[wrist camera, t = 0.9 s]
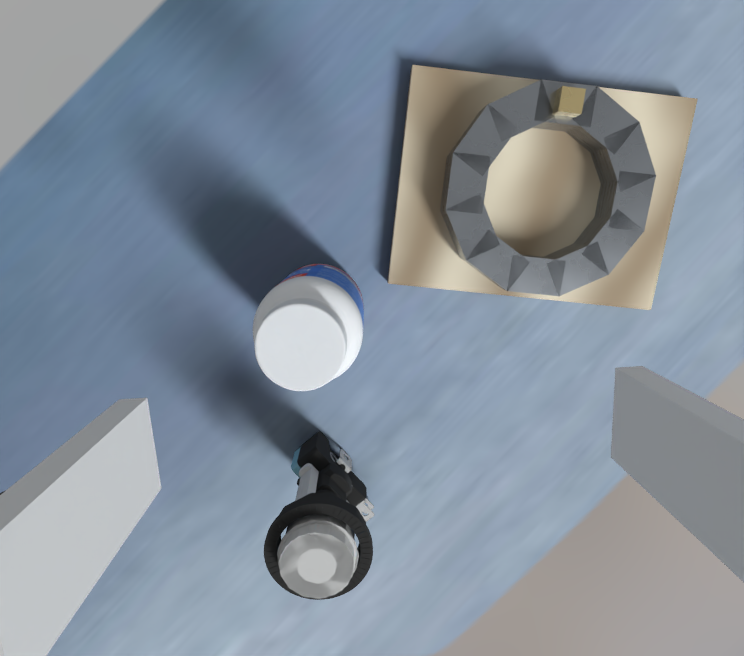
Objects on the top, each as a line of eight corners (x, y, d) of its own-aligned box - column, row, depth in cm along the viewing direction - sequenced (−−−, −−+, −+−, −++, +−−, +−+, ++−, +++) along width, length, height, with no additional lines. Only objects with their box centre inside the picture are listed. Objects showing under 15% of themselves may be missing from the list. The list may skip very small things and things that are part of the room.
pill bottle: (308, 244, 31) (286, 258, 22) (380, 296, 32) (389, 331, 22) (258, 316, 32) (214, 360, 22) (329, 366, 33) (316, 428, 23)
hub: (430, 279, 31) (437, 286, 28) (456, 79, 28) (467, 65, 26) (612, 297, 31) (636, 306, 28) (652, 103, 29) (682, 91, 26)
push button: (398, 482, 35) (414, 588, 25) (339, 529, 35) (331, 651, 25) (332, 412, 33) (320, 493, 24) (271, 462, 34) (236, 562, 24)
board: (387, 281, 32) (388, 283, 31) (410, 69, 29) (412, 64, 28) (641, 307, 32) (650, 310, 31) (686, 102, 30) (697, 98, 29)
